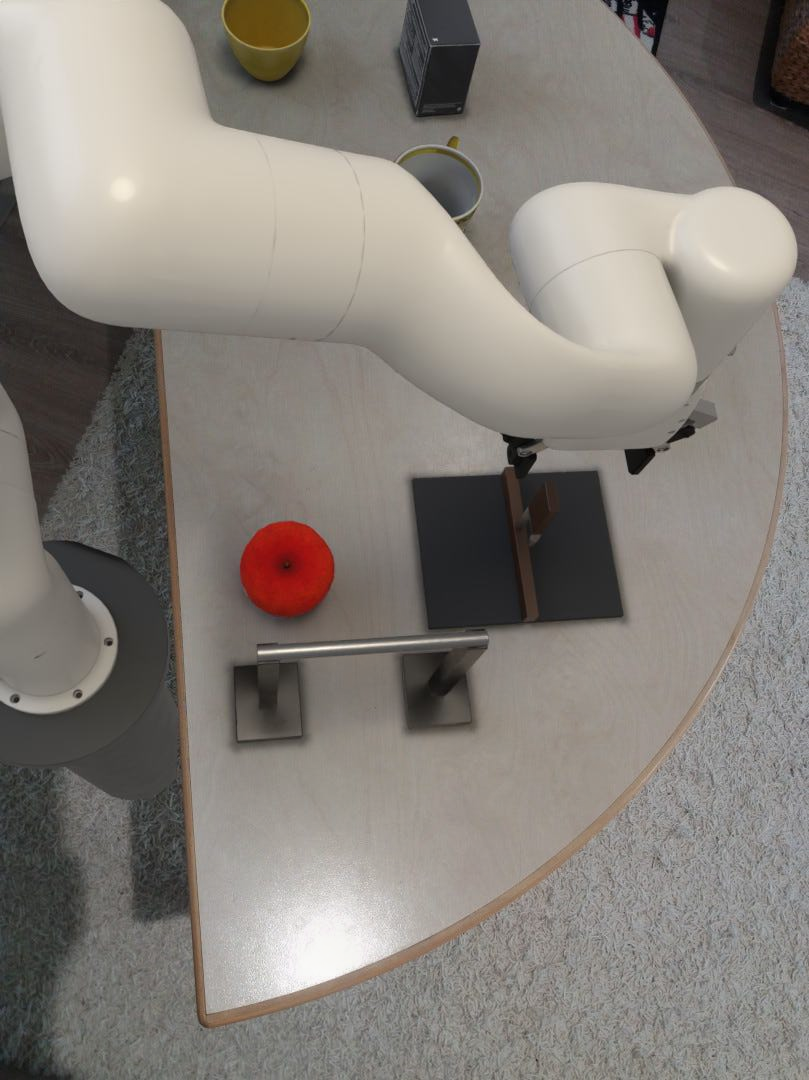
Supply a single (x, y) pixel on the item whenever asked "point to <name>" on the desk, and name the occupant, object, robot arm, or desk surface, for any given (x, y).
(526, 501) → the mat
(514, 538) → the hanger
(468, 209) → the ceramic cup
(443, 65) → the small box
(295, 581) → the apple
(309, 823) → the desk surface
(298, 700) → the rail
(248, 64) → the flower pot
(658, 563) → the desk surface
